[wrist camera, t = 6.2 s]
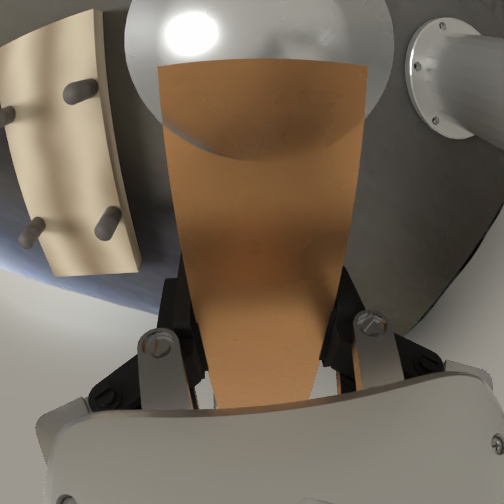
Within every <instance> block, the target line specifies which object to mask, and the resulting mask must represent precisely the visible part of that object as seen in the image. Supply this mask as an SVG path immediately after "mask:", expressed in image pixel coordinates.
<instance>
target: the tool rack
mask: <svg viewBox="0 0 504 504" xmlns="http://www.w3.org/2000/svg"><path fill="white" fill-rule="evenodd" d="M0 102H1V108H2V109H0V128H2V127H4V126H5V130H6V134H7V139H8V143H9V148H10V152H11V156H12V160H13V164H14V167H15V171H16V174H17V178H18V181H19V185H20V188H21V191H22V194H23V197H24V200H25V203H26V206H27V209H28V212H29V215H30V218H31V220H32V221H31V222H30V223H29V224H28V226H27V227H26V228H25V229H24V231H23V232H22V233H21V234H20V235H19V238H18V240H19V243H20V245H21V246H22V247H23V248H25V249H30V248H31V247H32V246H33V244H34V243H35V241H36V240H37V239H38V238H39V241H40V243H41V246H42V248H43V251H44V253H45V255H46V258H47V260H48V262H49V264H50V267H51V269H52V271H53V273H54V275H55V277H61V276H79V275H97V274H114V273H131V272H138V271H139V268H140V265H141V261H142V258H141V254H140V250H139V247H138V243H137V239H136V235H135V231H134V227H133V223H132V219H131V215H130V211H129V206H128V202H127V197H126V193H125V188H124V183H123V179H122V174H121V169H120V163H119V158H118V152H117V147H116V141H115V135H114V129H113V122H112V115H111V108H110V100H109V92H108V83H107V74H106V63H105V50H104V34H103V12H102V11H99V10H96V9H91V10H88V11H85V12H82V13H79V14H76V15H73V16H70V17H67V18H65V19H62V20H59V21H57V22H54V23H52V24H49V25H47V26H44V27H42V28H40V29H37V30H35V31H33V32H31V33H28V34H26V35H24V36H22V37H20V38H18V39H16V40H14V41H12V42H10V43H8V44H6V45H4V46H2V47H1V48H0Z"/></svg>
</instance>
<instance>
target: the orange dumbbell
mask: <svg viewBox="0 0 504 504" xmlns="http://www.w3.org/2000/svg"><path fill="white" fill-rule="evenodd" d="M125 55H126V62H127V66H128V69H129V73H130V76H131V79H132V81H133V84H134V86H135V88H136V90H137V92H138V94H139V96H140V97H141V99H142V100H143V102H144V103H145V105H146V106H147V108H148V109H149V110H150V111H151V112H152V113H153V115H154V116H155V117H156V118H157V119H158V120H159V121H160V122H161V123H162V124H163V132H164V141H165V149H166V157H167V164H168V171H169V178H170V185H171V192H172V198H173V205H174V211H175V217H176V223H177V229H178V234H179V240H180V246H181V251H182V256H183V262H184V267H185V272H186V277H187V282H188V287H189V292H190V296H191V301H192V306H193V310H194V315H195V319H196V323H198V325H199V330H200V334H201V338H202V343H203V347H204V351H205V355H206V359H207V364H208V368H209V371H208V373H209V377H210V381H211V385H212V388H213V400H214V409H224V408H239V407H252V406H263V405H272V404H281V403H289V402H296V401H303V400H309V397H310V393H311V390H312V387H313V383H314V380H315V376H316V373H317V370H318V366H319V363H320V360H319V357H320V353H321V349H322V345H323V341H324V337H325V333H326V329H327V325H328V321H329V317H330V313H331V311H333V308H334V304H335V299H336V295H337V290H338V286H339V281H340V276H341V272H342V267H343V262H344V257H345V251H346V246H347V241H348V235H349V230H350V224H351V218H352V212H353V206H354V199H355V192H356V185H357V178H358V171H359V163H360V155H361V146H362V137H363V127H364V119H365V118H366V117H367V116H368V115H369V113H370V112H371V111H372V109H373V108H374V107H375V105H376V104H377V102H378V100H379V99H380V97H381V95H382V93H383V92H384V89H385V87H386V84H387V82H388V79H389V76H390V72H391V68H392V64H393V56H394V33H393V27H392V22H391V17H390V14H389V11H388V8H387V5H386V3H385V1H384V0H132V3H131V6H130V9H129V12H128V15H127V21H126V27H125Z"/></svg>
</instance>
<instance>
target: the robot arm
mask: <svg viewBox="0 0 504 504" xmlns="http://www.w3.org/2000/svg"><path fill="white" fill-rule="evenodd" d="M405 79H406V84H407V89H408V93H409V96H410V99H411V102H412V104H413V106H414V108H415V110H416V112H417V114H418V115H419V116H420V118H421V119H422V120H423V121H424V123H425V124H426V125H428V126H429V127H430V128H431V129H432V130H434V131H436V132H437V133H439V134H441V135H443V136H445V137H448V138H452V139H466V138H469V137H472V136H474V135H476V136H478V137H480V138H482V139H484V140H486V141H487V142H489V143H491V144H493V145H495V146H496V147H498V148H500V149H502V150H503V151H504V39H502V38H496V37H489V36H482V35H480V33H479V32H478V31H477V30H475V29H474V28H473V27H472V26H471V25H469V24H467V23H466V22H464V21H462V20H459V19H455V18H446V17H444V18H435V19H432V20H429V21H427V22H426V23H424V24H423V25H421V26H420V27H419V28H418V30H417V31H416V32H415V33H414V35H413V37H412V39H411V41H410V43H409V46H408V49H407V53H406V60H405ZM137 351H138V354H137V355H135V356H134V357H133V358H131V359H130V360H129V361H127V362H126V363H125V364H123V365H122V366H121V367H119V368H118V369H117V370H115V371H114V372H113V373H111V374H110V375H109V376H107V377H106V378H105V379H103V380H102V381H101V382H99V383H98V384H96V385H95V386H94V387H93V388H92V390H91V392H90V393H89V396H88V397H86V398H83V397H80V398H77V399H75V400H74V401H71V402H69V403H67V404H65V405H63V406H61V407H59V408H56V409H54V410H52V411H50V412H48V413H46V414H44V415H42V416H41V417H40V418H39V419H38V421H37V423H36V427H35V428H36V434H37V438H38V441H39V444H40V447H41V450H42V453H43V456H44V459H45V462H46V464H47V470H46V476H45V483H44V494H43V504H504V412H503V410H502V408H501V405H500V404H499V402H498V400H497V398H496V396H495V395H494V393H493V383H492V378H491V377H490V375H489V374H488V373H487V372H486V371H485V370H483V369H479V368H475V367H472V366H468V365H464V364H460V363H457V362H453V361H450V360H446V361H445V362H442V360H441V358H440V357H439V356H438V355H437V354H436V353H434V352H432V351H431V350H429V349H426V348H425V347H422V346H420V345H418V344H416V343H414V342H412V341H410V340H408V339H405V338H404V337H402V336H400V335H398V334H396V333H393V329H392V325H391V323H390V320H389V319H388V318H387V317H386V316H385V315H384V314H382V313H381V312H378V311H376V310H365V307H364V305H363V303H362V301H361V299H360V297H359V295H358V293H357V291H356V288H355V286H354V284H353V282H352V280H351V278H350V276H349V274H348V272H347V270H346V268H345V267H344V266H343V267H342V272H341V276H340V281H339V286H338V290H337V295H336V299H335V304H334V308H333V311H331V313H330V317H329V321H328V325H327V329H326V333H325V337H324V341H323V345H322V349H321V353H320V357H319V360H322V363H323V367H327V366H331V368H332V369H334V370H336V379H337V393H338V395H334V396H328V397H323V398H316V399H310V400H303V401H296V402H289V403H281V404H272V405H263V406H252V407H239V408H224V409H202V410H200V409H199V405H198V400H197V395H196V391H195V386H196V385H197V384H198V383H199V382H200V381H201V379H204V378H205V371H209V368H208V364H207V359H206V355H205V351H204V347H203V343H202V338H201V334H200V330H199V325H198V323H196V319H195V315H194V310H193V306H192V301H191V296H190V292H189V287H188V282H187V277H186V272H185V267H184V262H183V256H182V251H181V257H180V264H179V271H178V277H177V278H168V279H165V282H164V287H163V293H162V298H161V304H160V310H159V316H158V323H157V328H155V329H152V330H150V331H148V332H146V333H145V334H144V335H143V336H142V337H141V338H140V340H139V342H138V347H137Z"/></svg>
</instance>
